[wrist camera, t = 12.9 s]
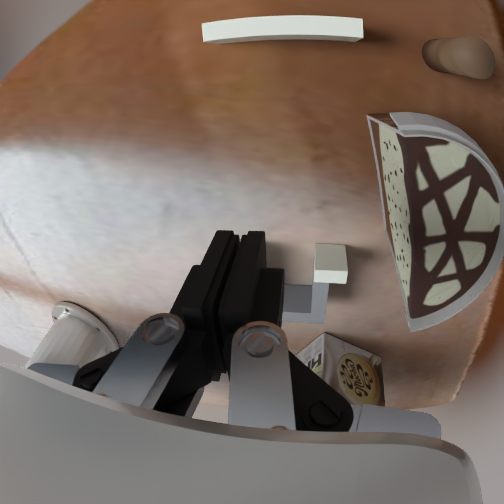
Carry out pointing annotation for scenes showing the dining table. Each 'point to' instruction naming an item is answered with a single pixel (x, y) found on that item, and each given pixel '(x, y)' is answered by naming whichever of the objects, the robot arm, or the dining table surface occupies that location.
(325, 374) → the coffee box
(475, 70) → the goal posts
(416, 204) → the food container
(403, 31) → the dining table surface
